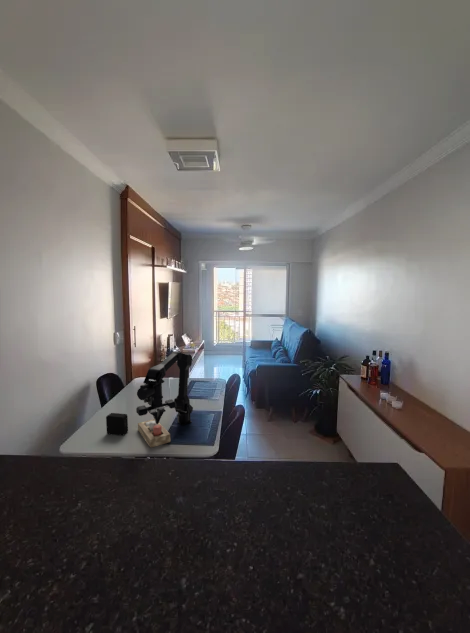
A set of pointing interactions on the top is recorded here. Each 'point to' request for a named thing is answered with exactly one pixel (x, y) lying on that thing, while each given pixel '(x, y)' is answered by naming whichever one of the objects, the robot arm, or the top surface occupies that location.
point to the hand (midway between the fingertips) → (157, 423)
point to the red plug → (157, 430)
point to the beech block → (149, 436)
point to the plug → (152, 425)
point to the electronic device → (117, 424)
